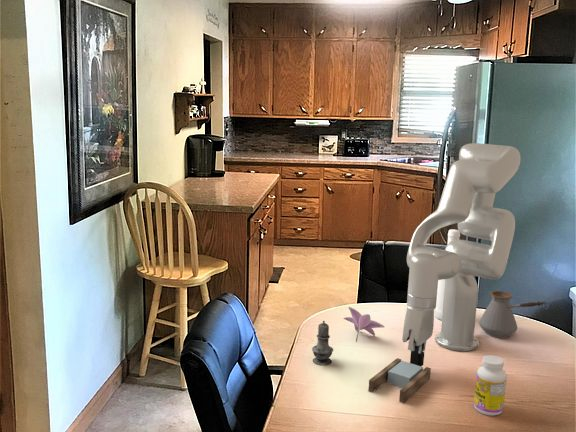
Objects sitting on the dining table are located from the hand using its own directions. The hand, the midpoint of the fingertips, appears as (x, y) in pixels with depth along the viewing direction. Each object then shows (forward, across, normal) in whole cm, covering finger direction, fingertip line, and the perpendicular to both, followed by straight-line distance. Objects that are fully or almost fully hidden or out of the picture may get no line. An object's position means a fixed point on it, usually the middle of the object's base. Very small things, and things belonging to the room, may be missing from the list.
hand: (416, 364), depth 162 cm
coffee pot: (+2, -39, +14) cm, 41 cm away
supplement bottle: (+2, +8, +22) cm, 24 cm away
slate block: (+2, +7, 0) cm, 7 cm away
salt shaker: (+2, +11, -23) cm, 26 cm away
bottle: (+2, -43, -8) cm, 44 cm away
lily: (+2, -10, -22) cm, 25 cm away
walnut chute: (+2, +10, 0) cm, 10 cm away
